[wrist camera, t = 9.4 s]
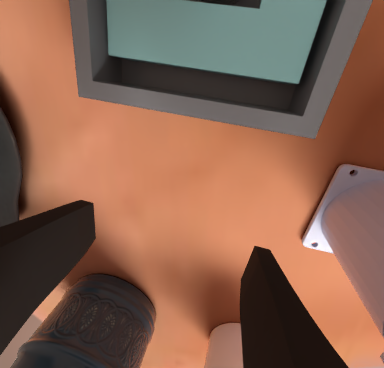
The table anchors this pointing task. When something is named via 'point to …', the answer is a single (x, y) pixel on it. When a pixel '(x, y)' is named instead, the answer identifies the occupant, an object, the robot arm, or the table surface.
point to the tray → (216, 89)
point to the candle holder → (225, 347)
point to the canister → (92, 328)
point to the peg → (220, 2)
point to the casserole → (9, 173)
